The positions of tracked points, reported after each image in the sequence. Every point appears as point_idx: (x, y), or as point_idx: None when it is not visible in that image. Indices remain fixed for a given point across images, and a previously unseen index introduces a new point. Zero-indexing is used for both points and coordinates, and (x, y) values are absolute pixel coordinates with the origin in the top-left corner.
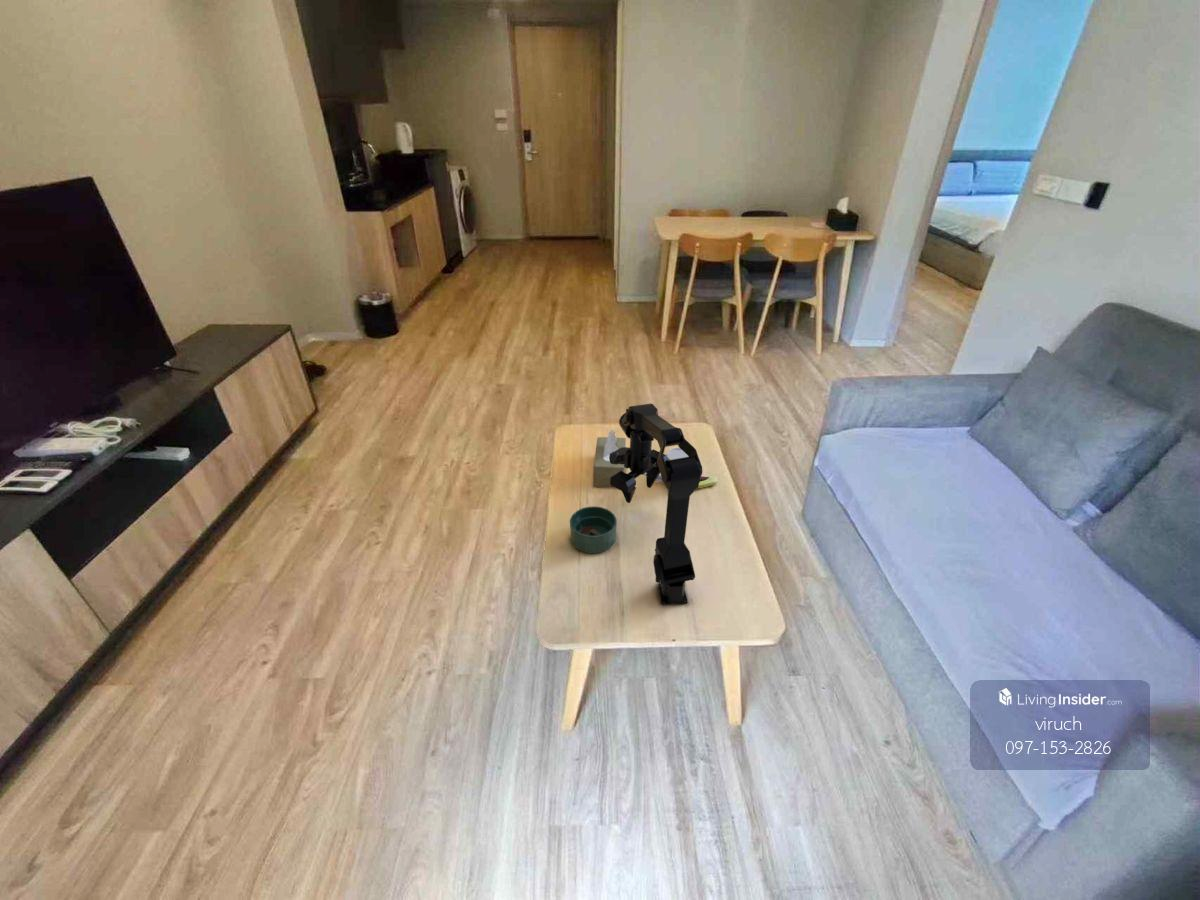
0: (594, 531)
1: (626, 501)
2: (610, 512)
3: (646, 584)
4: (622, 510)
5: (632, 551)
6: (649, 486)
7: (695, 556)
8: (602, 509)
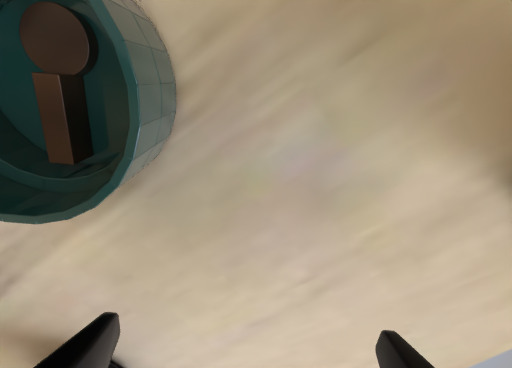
0: (49, 94)
1: (98, 319)
2: (129, 131)
3: (73, 326)
4: (313, 77)
5: (141, 240)
6: (382, 366)
7: (247, 363)
8: (120, 62)
